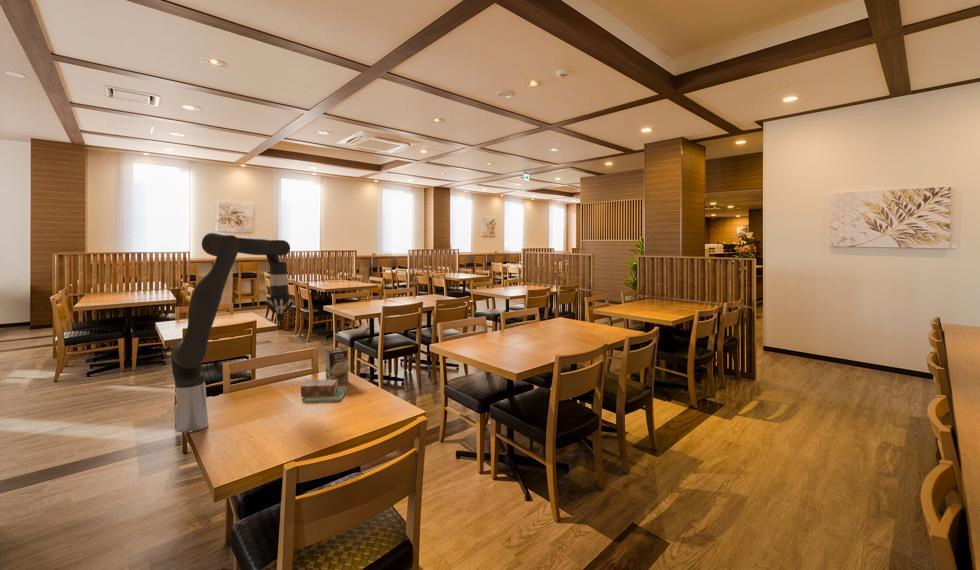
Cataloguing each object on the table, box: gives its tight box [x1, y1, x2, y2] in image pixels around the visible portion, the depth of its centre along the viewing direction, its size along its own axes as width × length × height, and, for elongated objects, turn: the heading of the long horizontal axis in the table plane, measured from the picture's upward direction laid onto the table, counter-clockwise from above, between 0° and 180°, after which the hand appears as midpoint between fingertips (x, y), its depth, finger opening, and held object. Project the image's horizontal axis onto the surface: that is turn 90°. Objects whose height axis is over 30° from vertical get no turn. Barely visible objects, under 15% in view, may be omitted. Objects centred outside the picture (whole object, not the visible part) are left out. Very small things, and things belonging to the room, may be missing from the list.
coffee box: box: [325, 348, 349, 385], centre depth 214 cm, size 9×6×16 cm
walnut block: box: [300, 379, 339, 398], centre depth 198 cm, size 5×8×14 cm
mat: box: [302, 386, 349, 403], centre depth 198 cm, size 16×16×1 cm
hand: (281, 321), depth 200 cm, fingers closed
